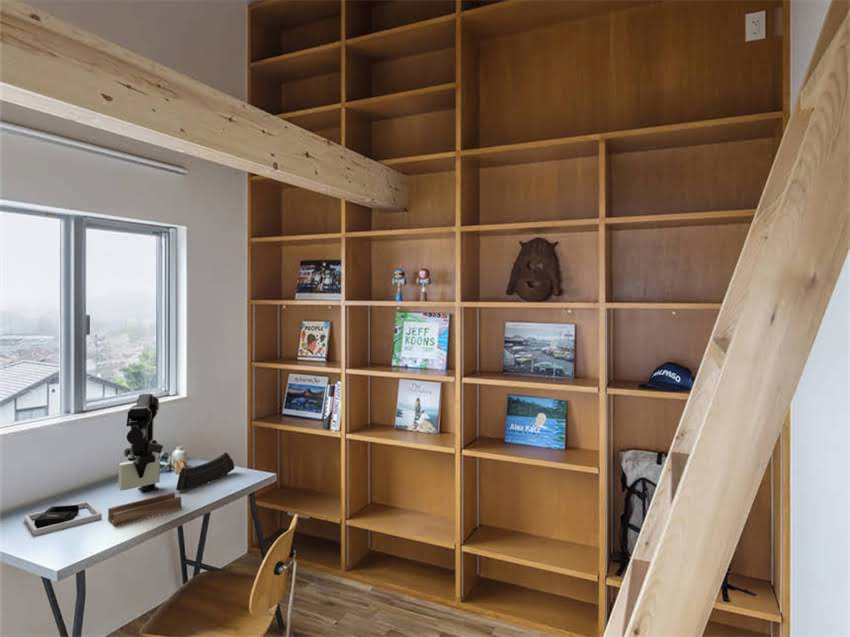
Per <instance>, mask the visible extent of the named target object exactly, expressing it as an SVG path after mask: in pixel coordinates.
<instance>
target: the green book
mask: <svg viewBox="0 0 850 637" xmlns="http://www.w3.org/2000/svg"><path fill="white" fill-rule="evenodd" d="M155 456H156V455H155ZM160 459H161V458H160V457H159V456H156V457H155V462H152V463H148V464H147V466H146V468H145V472H144V475H143V478H139V475H138V473H137V471H136V468H135V466H134V463H133V462H136V461H135V460H134V461H129V460H128V461H124V462H119V463H118V489H119V490H120V491H121V492H123V491H128V490H131V489H136V488H140V487H141V486H146V485H150V484H158V483H159V484H160V482H161V481H160V480H161V479H160V478H161V477H160V475H161V466H160V465H161V464H160V463H161V462H160Z"/></svg>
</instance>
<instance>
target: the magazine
mask: <svg viewBox="0 0 850 637" xmlns="http://www.w3.org/2000/svg"><path fill="white" fill-rule="evenodd" d="M234 469H235V464H234V459H232V457H231V455H230V454H229V453H228V452H224V453H223V454H221V455H220V456H218V457H216V458H214V459H213V460H210V461H208V462H205V463H203V464H198V465H196V466H192V467H182V468H181V470H180V472H179V476H178V479H177V483H176V488H175V491H178V492H182V491H186V490H191V489H195V488H199V487H198V486H200V487H202V486H201V485H203V484H205V485H207V484H206V483H208V482H211V481H213V480H215V481H217V480H219V479H221V478H222V477H224V476H227V475H226V474H230V472H233V470H234ZM216 479H217V480H216ZM213 482H214V481H213ZM211 483H212V482H211ZM208 484H209V483H208ZM203 486H204V485H203Z"/></svg>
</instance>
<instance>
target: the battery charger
mask: <svg viewBox="0 0 850 637" xmlns="http://www.w3.org/2000/svg"><path fill="white" fill-rule="evenodd" d="M79 510H80V509H79V506H78V505H73V504H69V505H56V506H54V505H53V506H50V507H49V508H48V509H47V510H44V511H45V512H44V513H43V514H41V515H40V516H39V517H38V518H36V519H35V520H33V521H34V522H33V523H34V525H35V527H36V528H37V529H38V528H42V527H46V526H50V525H54V524H58V523H62V522H66V521H70V520H74V519H75V518H76V517H77V516H78V515H79V514H80V511H79ZM78 513H79V514H78ZM77 514H78V515H77ZM76 515H77V516H76ZM75 516H76V517H75ZM74 517H75V518H74ZM73 518H74V519H73Z"/></svg>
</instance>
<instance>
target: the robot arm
mask: <svg viewBox="0 0 850 637" xmlns="http://www.w3.org/2000/svg"><path fill="white" fill-rule="evenodd" d="M159 411H160V401H159V398H157V397H155V396H154V395H153V393H141V394H139V395H138V398H137V399H136V404H135V405H132V406H131V407H130V408H129V410H128V411H127V417H126V427H130V430H129V431H128V432H127V434H126V440H127V441H128V443H129V444H130V447H129V448H125V449H124V452H123V456H125V457H126V459H127V460H128V462H129V461H134V460H135V461H136V462H133V463H134V466H135V468H136V471H137V473H138V475H139V478H143V475H144V472H145V468H146V466H147V464H148V463H152V462H155V457H156V455H155V453H157V454H161V453H162V451H163V448H164V445H162V444H161V443H158V442H157V440H155V439H154V421H155V418H156V417H157V415H158V412H159ZM127 457H128V458H127ZM156 484H157V483H155V484H150V485H146V486H141V487H137V490H139V491H140V492H141V491H142V492H141V493H143V492H144V493H148V492H153V491H156V490H159V487H158V486H156ZM147 491H148V492H147Z"/></svg>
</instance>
